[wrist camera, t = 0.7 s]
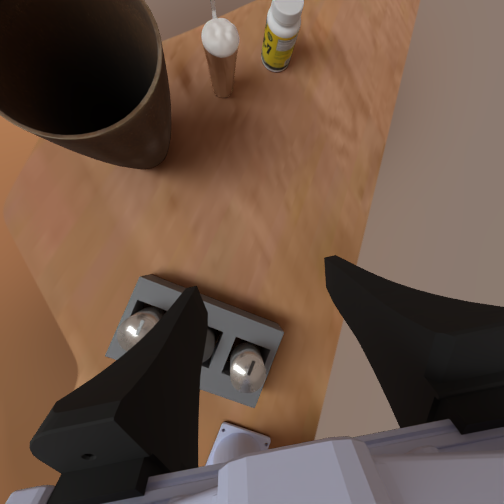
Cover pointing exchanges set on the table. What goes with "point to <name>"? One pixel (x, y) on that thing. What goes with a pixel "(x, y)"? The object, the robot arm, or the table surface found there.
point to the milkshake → (220, 52)
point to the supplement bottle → (281, 33)
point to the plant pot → (87, 77)
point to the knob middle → (209, 343)
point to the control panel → (220, 318)
